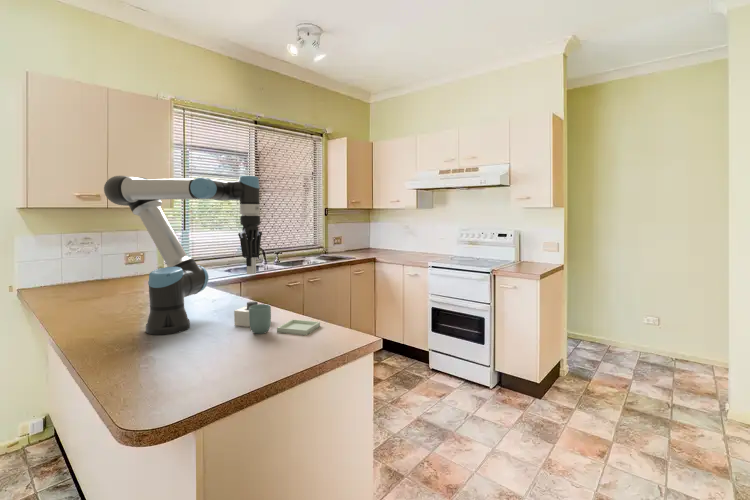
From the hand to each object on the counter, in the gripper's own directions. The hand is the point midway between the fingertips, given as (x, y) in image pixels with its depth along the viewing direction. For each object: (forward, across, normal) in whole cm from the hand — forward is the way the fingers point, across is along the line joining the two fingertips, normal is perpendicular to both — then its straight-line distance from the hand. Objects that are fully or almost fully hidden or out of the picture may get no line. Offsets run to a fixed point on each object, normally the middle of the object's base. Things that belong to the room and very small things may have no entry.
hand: (251, 273), depth 158 cm
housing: (+20, 0, 0) cm, 20 cm away
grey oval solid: (+18, 0, 0) cm, 18 cm away
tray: (+20, -2, -22) cm, 30 cm away
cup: (+21, -10, -10) cm, 25 cm away
